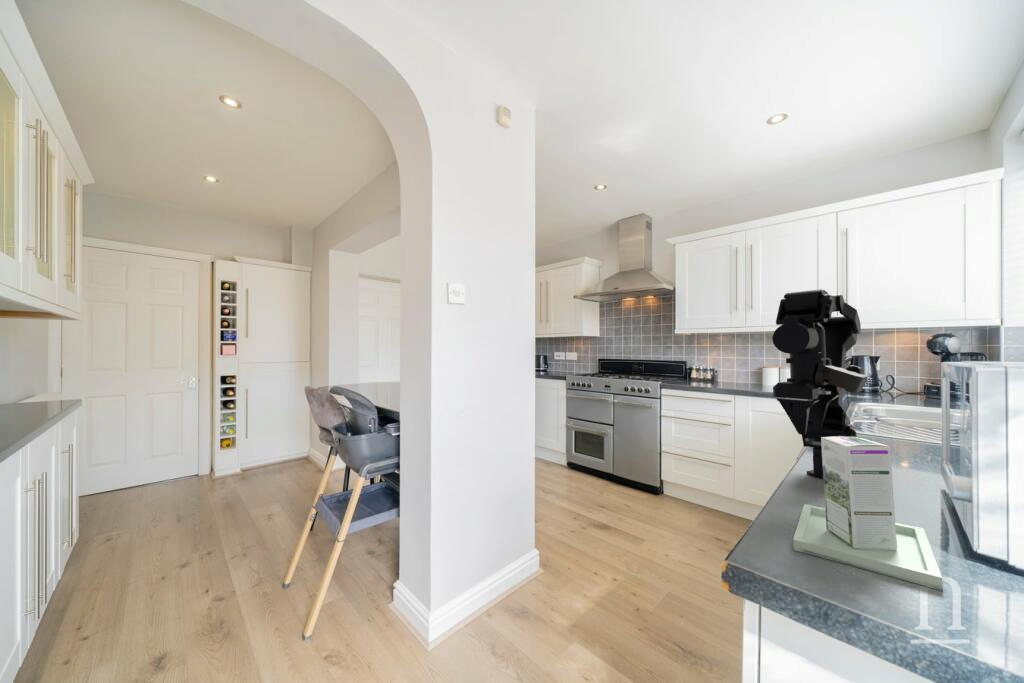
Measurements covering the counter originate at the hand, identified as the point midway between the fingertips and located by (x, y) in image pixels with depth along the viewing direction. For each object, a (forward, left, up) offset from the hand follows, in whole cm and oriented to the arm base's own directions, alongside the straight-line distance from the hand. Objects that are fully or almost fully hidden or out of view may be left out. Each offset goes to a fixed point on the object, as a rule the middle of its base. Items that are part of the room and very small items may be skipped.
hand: (810, 431), depth 74 cm
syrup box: (+15, +15, -12) cm, 25 cm away
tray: (+15, +15, -12) cm, 25 cm away
